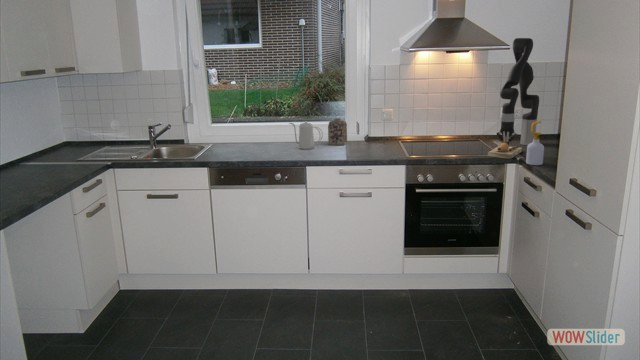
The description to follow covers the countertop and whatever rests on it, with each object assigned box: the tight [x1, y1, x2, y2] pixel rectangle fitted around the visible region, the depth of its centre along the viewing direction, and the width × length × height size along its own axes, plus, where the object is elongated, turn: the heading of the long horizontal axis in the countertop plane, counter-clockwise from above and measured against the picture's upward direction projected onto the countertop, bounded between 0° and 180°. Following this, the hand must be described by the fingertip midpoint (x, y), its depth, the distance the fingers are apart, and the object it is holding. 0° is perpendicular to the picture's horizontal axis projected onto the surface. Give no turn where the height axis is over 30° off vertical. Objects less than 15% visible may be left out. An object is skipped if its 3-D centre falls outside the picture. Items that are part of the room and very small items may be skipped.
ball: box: [499, 142, 510, 151], centre depth 324 cm, size 5×5×5 cm
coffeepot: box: [288, 120, 324, 150], centre depth 358 cm, size 11×25×19 cm, turn 68°
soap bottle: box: [525, 120, 545, 166], centre depth 297 cm, size 9×9×25 cm
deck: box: [487, 144, 523, 160], centre depth 326 cm, size 24×14×4 cm, turn 144°
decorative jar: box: [327, 117, 348, 146], centre depth 370 cm, size 12×12×18 cm
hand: (506, 147), depth 327 cm, fingers closed
